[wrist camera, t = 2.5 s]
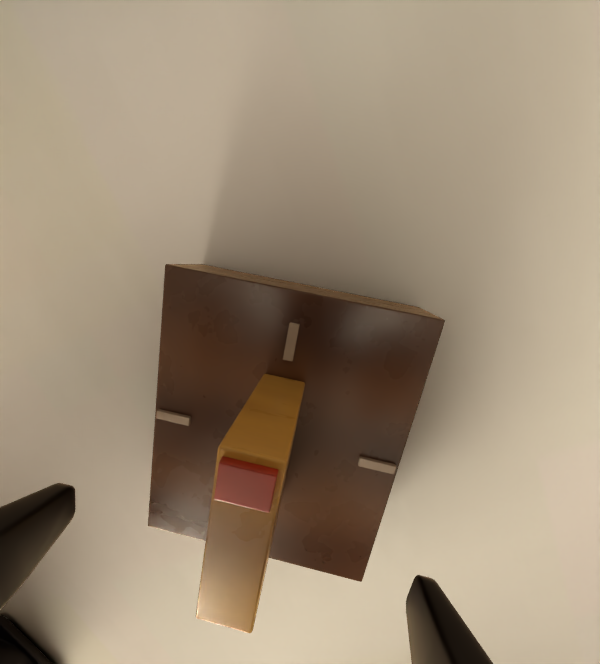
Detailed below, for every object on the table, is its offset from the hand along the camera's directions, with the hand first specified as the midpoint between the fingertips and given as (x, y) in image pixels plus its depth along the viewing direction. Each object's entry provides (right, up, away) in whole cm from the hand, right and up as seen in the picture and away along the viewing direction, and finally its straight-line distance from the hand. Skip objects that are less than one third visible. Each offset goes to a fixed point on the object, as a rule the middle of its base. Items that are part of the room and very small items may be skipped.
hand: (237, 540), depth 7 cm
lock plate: (+1, +2, +7) cm, 7 cm away
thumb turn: (+1, +1, +4) cm, 4 cm away
